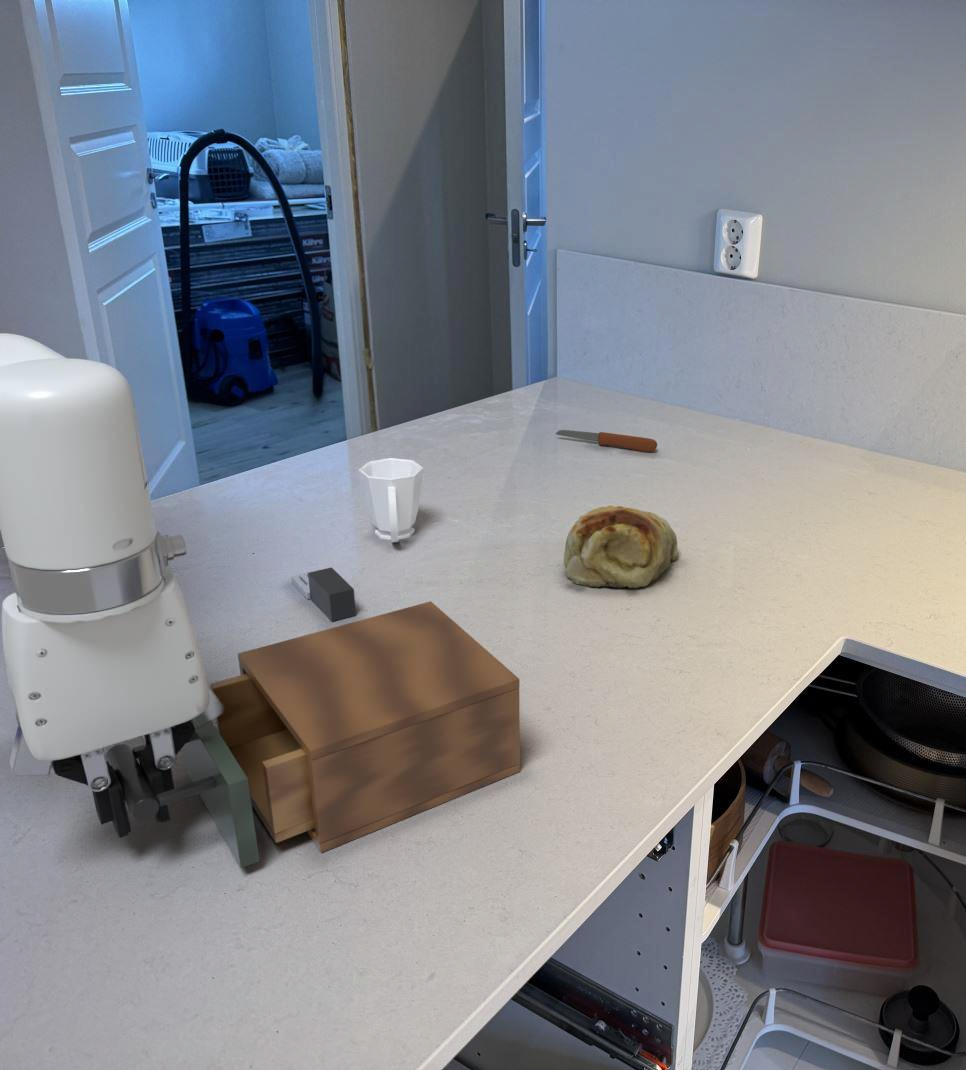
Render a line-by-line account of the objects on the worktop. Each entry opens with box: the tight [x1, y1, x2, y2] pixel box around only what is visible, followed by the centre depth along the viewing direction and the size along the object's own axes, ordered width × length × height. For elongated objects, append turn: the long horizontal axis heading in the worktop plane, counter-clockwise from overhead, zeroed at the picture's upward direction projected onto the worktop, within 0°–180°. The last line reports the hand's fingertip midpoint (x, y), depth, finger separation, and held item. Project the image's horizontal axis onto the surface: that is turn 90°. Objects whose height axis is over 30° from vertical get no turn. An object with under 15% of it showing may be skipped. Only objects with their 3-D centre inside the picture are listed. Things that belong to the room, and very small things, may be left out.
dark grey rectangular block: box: [290, 567, 357, 623], centre depth 100 cm, size 10×3×3 cm, turn 41°
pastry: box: [563, 505, 679, 589], centre depth 110 cm, size 14×12×8 cm
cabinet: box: [237, 600, 521, 853], centre depth 76 cm, size 16×15×9 cm
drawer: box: [105, 674, 315, 869], centre depth 71 cm, size 20×13×7 cm
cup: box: [358, 457, 424, 543], centre depth 113 cm, size 7×10×8 cm
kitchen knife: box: [555, 429, 658, 453], centre depth 149 cm, size 16×1×2 cm, turn 80°
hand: (139, 816), depth 66 cm, fingers closed on drawer
